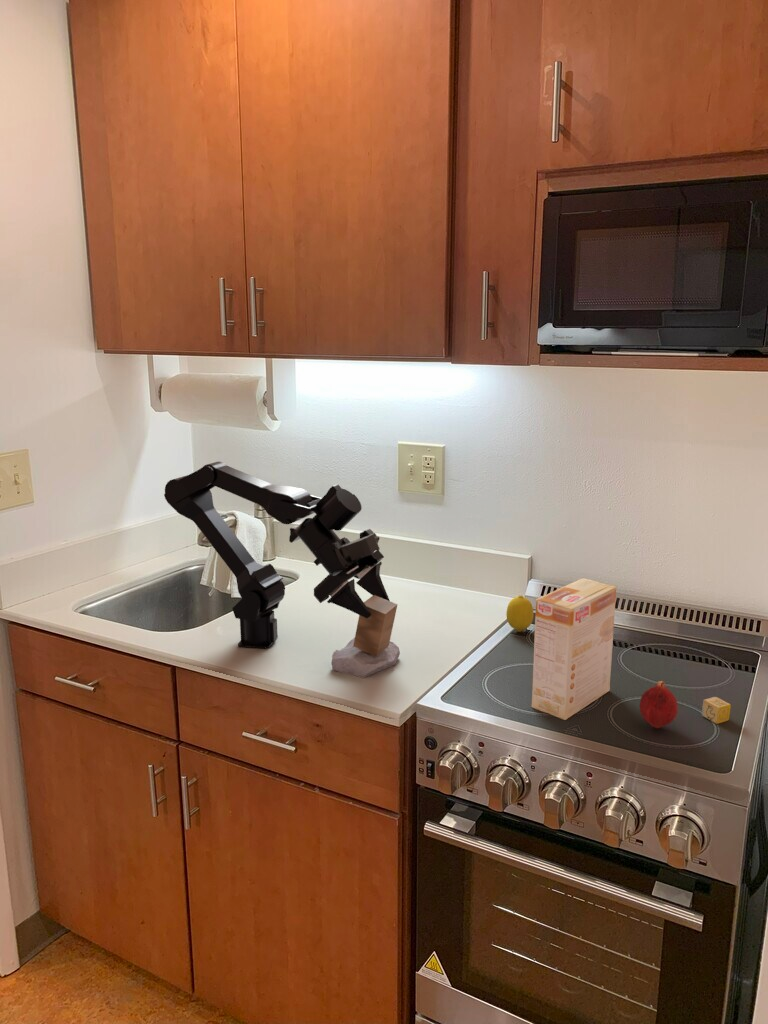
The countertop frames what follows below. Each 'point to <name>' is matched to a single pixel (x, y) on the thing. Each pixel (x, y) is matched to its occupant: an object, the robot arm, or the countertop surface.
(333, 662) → the lilac crinkled slab
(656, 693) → the onion
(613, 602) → the coffeecake box
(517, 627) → the lemon
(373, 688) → the countertop surface
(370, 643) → the walnut block
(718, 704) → the alphabet block
